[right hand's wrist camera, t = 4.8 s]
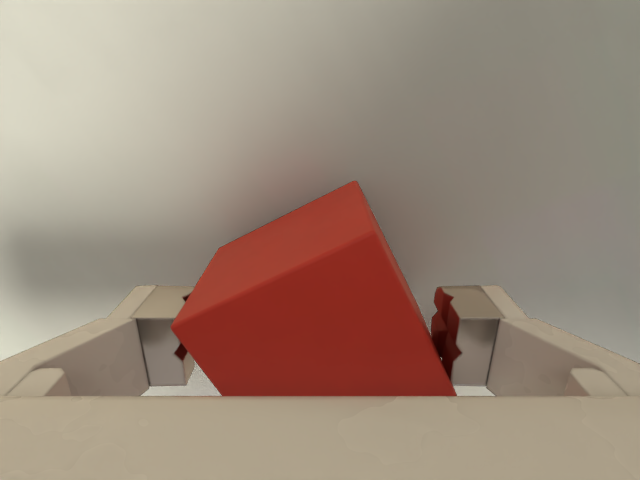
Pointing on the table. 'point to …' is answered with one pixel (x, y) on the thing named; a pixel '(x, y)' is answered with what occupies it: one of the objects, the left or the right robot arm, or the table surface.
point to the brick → (311, 310)
